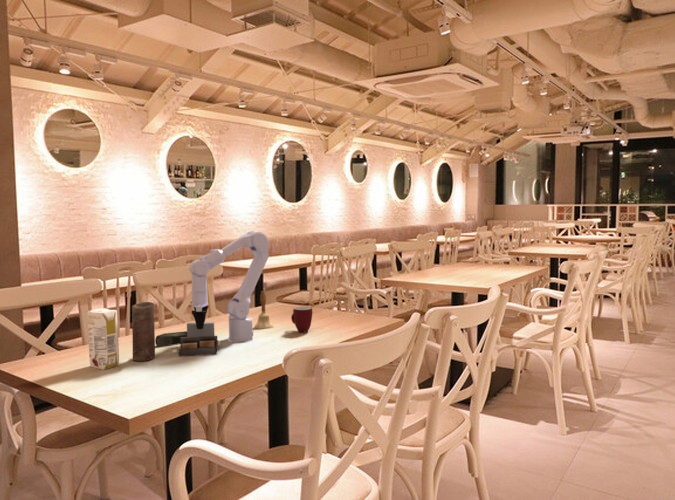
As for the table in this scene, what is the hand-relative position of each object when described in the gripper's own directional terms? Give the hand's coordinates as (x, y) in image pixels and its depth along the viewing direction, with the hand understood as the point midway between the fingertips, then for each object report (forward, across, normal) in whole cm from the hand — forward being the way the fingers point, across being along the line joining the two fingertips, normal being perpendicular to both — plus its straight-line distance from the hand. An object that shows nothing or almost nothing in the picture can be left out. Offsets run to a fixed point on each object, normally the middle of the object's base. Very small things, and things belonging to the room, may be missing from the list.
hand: (200, 326), depth 204 cm
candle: (+7, +17, -18) cm, 26 cm away
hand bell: (+8, -27, +25) cm, 38 cm away
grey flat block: (+7, 0, 0) cm, 7 cm away
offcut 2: (+7, +13, +3) cm, 15 cm away
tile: (+7, 0, 0) cm, 7 cm away
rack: (+7, +10, 0) cm, 13 cm away
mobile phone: (+8, -2, -11) cm, 14 cm away
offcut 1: (+7, +13, -3) cm, 15 cm away
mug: (+8, -15, +40) cm, 43 cm away
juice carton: (+7, +21, -30) cm, 37 cm away
